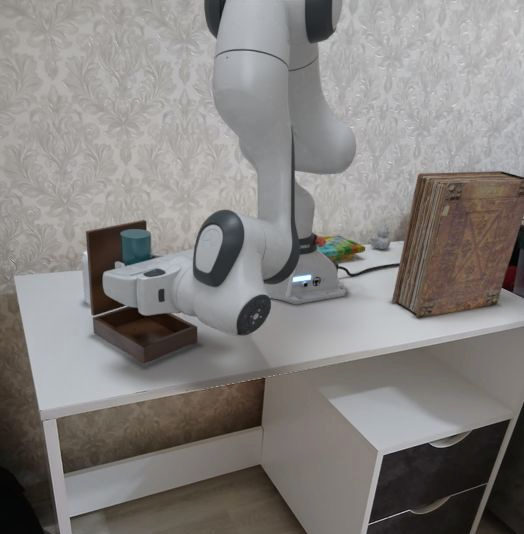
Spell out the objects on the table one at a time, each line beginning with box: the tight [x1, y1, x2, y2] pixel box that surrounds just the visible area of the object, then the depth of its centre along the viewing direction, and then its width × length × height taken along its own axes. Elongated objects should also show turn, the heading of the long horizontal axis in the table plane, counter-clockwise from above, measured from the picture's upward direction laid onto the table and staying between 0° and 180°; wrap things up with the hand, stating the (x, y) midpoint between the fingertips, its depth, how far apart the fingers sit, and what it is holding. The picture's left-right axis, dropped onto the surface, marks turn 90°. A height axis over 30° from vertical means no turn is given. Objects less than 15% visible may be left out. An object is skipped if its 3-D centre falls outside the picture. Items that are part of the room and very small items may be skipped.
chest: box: [92, 306, 198, 364], centre depth 106 cm, size 16×13×4 cm
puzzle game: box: [317, 234, 366, 263], centre depth 156 cm, size 12×5×20 cm
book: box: [391, 170, 524, 319], centre depth 126 cm, size 25×9×30 cm, turn 116°
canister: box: [120, 229, 153, 308], centre depth 99 cm, size 5×5×13 cm
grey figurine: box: [370, 223, 391, 250], centre depth 166 cm, size 5×7×8 cm
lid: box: [85, 219, 148, 317], centre depth 106 cm, size 16×13×5 cm
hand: (133, 261), depth 98 cm, fingers closed on canister, 5 cm apart
